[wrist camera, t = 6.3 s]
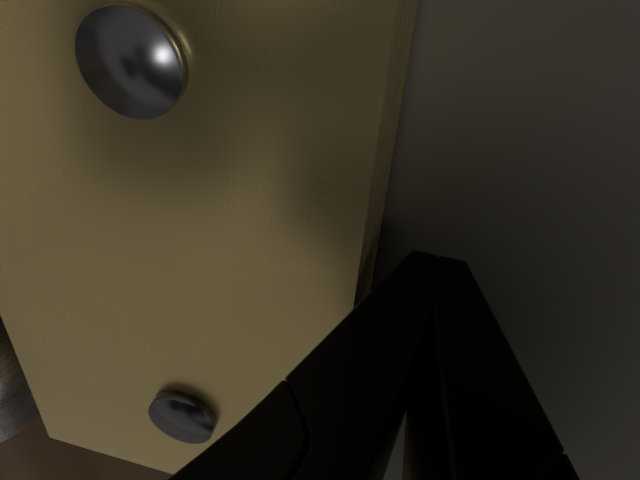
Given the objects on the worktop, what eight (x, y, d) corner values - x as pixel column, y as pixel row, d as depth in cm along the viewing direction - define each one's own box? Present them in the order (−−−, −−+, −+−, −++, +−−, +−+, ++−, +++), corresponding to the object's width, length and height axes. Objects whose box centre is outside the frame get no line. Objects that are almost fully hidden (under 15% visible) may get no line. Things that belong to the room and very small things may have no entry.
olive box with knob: (449, -186, 6) (400, -182, 3) (349, 417, 13) (306, 584, 10) (-293, -251, 8) (-741, -285, 5) (-34, 315, 15) (-163, 434, 12)
